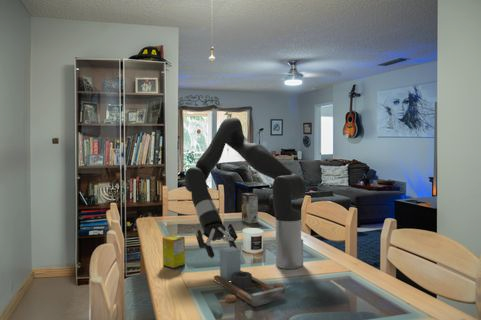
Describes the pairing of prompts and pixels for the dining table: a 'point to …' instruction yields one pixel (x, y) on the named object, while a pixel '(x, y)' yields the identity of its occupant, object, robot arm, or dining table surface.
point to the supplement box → (173, 251)
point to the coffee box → (249, 207)
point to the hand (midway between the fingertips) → (223, 254)
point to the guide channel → (256, 298)
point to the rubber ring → (242, 279)
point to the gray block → (229, 262)
